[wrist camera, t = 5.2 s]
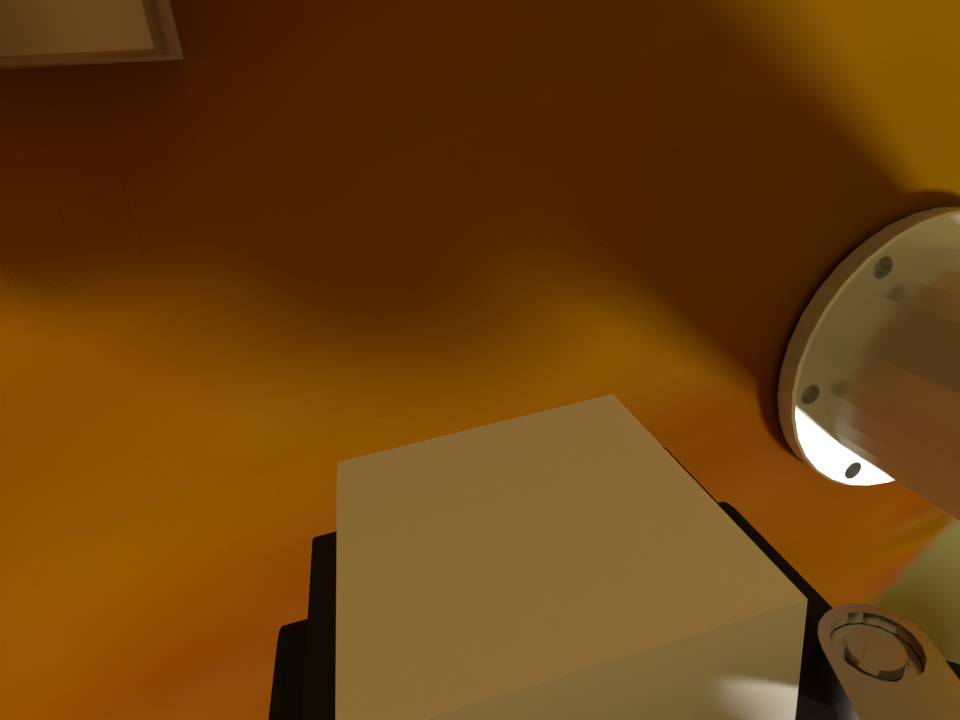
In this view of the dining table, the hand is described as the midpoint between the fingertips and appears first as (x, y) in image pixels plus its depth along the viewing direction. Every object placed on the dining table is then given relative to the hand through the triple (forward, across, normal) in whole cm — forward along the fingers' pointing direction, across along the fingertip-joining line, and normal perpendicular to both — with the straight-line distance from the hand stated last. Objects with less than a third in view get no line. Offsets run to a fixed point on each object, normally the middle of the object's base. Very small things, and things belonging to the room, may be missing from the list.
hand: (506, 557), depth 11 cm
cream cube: (+1, 0, 0) cm, 1 cm away
